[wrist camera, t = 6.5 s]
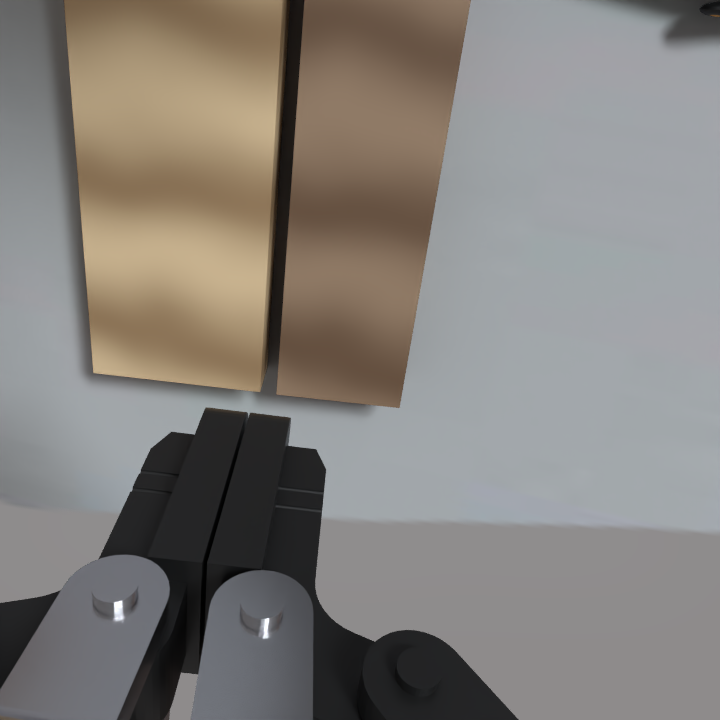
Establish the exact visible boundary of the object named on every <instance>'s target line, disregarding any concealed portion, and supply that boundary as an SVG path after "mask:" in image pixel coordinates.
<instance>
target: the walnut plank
mask: <svg viewBox="0 0 720 720" xmlns="http://www.w3.org/2000/svg"><path fill="white" fill-rule="evenodd" d="M470 2H471V0H304V13H303V28H302V42H301V56H300V70H299V84H298V98H297V112H296V126H295V140H294V154H293V168H292V182H291V196H290V210H289V224H288V238H287V253H286V267H285V281H284V295H283V309H282V323H281V337H280V351H279V365H278V379H277V393H276V395H286V396H295V397H304V398H313V399H322V400H332V401H341V402H350V403H359V404H368V405H377V406H387V407H396V408H399V407H400V401H401V396H402V390H403V384H404V379H405V373H406V367H407V361H408V356H409V350H410V344H411V339H412V333H413V327H414V321H415V316H416V310H417V304H418V299H419V293H420V287H421V281H422V276H423V270H424V264H425V259H426V253H427V247H428V242H429V236H430V230H431V224H432V219H433V213H434V207H435V202H436V196H437V190H438V184H439V179H440V173H441V167H442V162H443V156H444V150H445V144H446V139H447V133H448V127H449V122H450V116H451V110H452V105H453V99H454V93H455V87H456V82H457V76H458V70H459V65H460V59H461V53H462V47H463V42H464V36H465V30H466V25H467V19H468V13H469V7H470Z"/></svg>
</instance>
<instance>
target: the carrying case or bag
mask: <svg viewBox="0 0 720 720" xmlns="http://www.w3.org/2000/svg"><path fill="white" fill-rule="evenodd" d="M700 11H701V13H703V14H705V15H710V16H716V17H720V1H719V2H713V3H708V4H705V5H703V6H702V7H701V8H700Z"/></svg>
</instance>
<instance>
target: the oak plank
mask: <svg viewBox="0 0 720 720" xmlns="http://www.w3.org/2000/svg"><path fill="white" fill-rule="evenodd" d="M64 8H65V21H66V33H67V46H68V58H69V71H70V83H71V96H72V109H73V121H74V134H75V146H76V159H77V172H78V184H79V197H80V209H81V222H82V235H83V247H84V260H85V272H86V285H87V298H88V310H89V323H90V335H91V348H92V360H93V373H98V374H107V375H115V376H124V377H133V378H142V379H150V380H159V381H168V382H176V383H185V384H194V385H202V386H211V387H220V388H229V389H237V390H246V391H255V392H260V391H261V387H262V384H263V380H264V377H265V374H266V370H267V363H268V347H269V331H270V315H271V299H272V283H273V267H274V251H275V235H276V218H277V202H278V186H279V170H280V154H281V138H282V122H283V106H284V90H285V74H286V57H287V41H288V25H289V9H290V0H64Z"/></svg>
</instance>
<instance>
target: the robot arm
mask: <svg viewBox="0 0 720 720" xmlns="http://www.w3.org/2000/svg"><path fill="white" fill-rule="evenodd" d="M290 424H291V418H288V417H280V416H272V415H264V414H256V413H250V415H249V418H248V413H247V412H239V411H231V410H223V409H215V408H206V409H205V410H204V413H203V415H202V418H201V420H200V423H199V425H198V428H197V431H196V433H195V435H193V434H185V433H177V432H171V433H170V434H168V435H167V436H166V437H165V438H163V439H162V440H161V441H160V442H158V443H157V444H156V445H155V446H154V447H152V448H151V450H150V452H149V454H148V456H147V458H146V460H145V462H144V464H143V466H142V469H141V473H140V474H139V475H138V477H137V479H136V481H135V483H134V486H133V490H132V492H130V494H129V496H128V498H127V500H126V503H125V505H124V507H123V509H122V511H121V513H120V515H119V518H118V519H117V522H116V524H115V526H114V528H113V530H112V532H111V534H110V537H109V539H108V541H107V543H106V545H105V547H104V549H103V552H102V553H101V556H100V558H99V559H98V560H95V561H93V562H90V563H89V564H87V565H85V566H83V567H82V568H80V569H79V570H78V571H76V572H75V573H74V574H73V575H72V576H71V577H70V578H69V579H68V581H67V582H66V583H65V585H64V586H63V588H62V590H60V591H58V592H55V593H52V594H49V595H46V596H42V597H37V598H31V599H25V600H18V601H11V602H5V603H0V720H169V716H170V708H171V705H172V702H173V699H174V695H175V692H176V688H177V685H178V681H179V678H180V674H181V672H182V673H192V674H198V679H197V685H196V691H195V697H194V703H193V709H192V715H191V720H518V719H517V718H516V717H515V715H514V714H513V713H512V712H511V711H510V710H509V709H508V708H507V707H506V706H505V705H504V704H503V702H502V701H501V700H500V699H499V698H498V697H497V696H496V695H495V694H494V693H493V692H492V690H491V689H490V688H489V687H488V686H487V685H486V684H485V683H484V682H483V681H482V680H481V678H480V677H479V676H478V675H477V674H476V673H475V672H474V671H473V670H472V669H471V668H470V667H469V665H468V664H467V663H466V662H465V661H464V660H463V659H462V658H461V657H460V656H459V655H458V654H457V652H456V651H455V650H454V649H453V648H451V647H450V646H449V645H448V644H447V643H445V642H444V641H442V640H441V639H439V638H437V637H435V636H433V635H430V634H427V633H424V632H420V631H414V630H403V631H396V632H392V633H389V634H387V635H385V636H383V637H381V638H380V639H378V640H377V641H376V642H374V641H372V640H369V639H367V638H365V637H362V636H360V635H358V634H355V633H353V632H351V631H349V630H347V629H345V628H343V627H342V626H340V625H339V624H337V623H336V622H335V621H334V620H333V619H331V618H330V617H329V616H328V614H327V613H326V612H325V611H324V609H323V608H322V606H321V605H320V603H319V600H318V598H317V595H316V590H315V577H316V567H317V556H318V546H319V536H320V526H321V516H322V506H323V494H324V485H325V475H326V469H325V467H324V464H323V462H322V460H321V458H320V456H319V454H318V452H317V450H316V449H309V448H300V447H292V446H288V443H289V434H290Z"/></svg>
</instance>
